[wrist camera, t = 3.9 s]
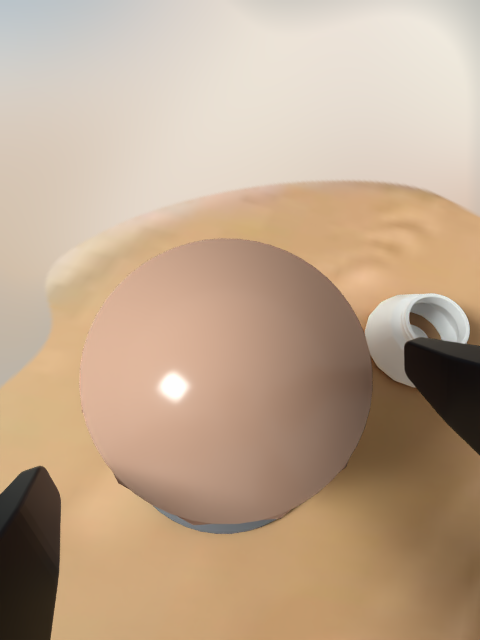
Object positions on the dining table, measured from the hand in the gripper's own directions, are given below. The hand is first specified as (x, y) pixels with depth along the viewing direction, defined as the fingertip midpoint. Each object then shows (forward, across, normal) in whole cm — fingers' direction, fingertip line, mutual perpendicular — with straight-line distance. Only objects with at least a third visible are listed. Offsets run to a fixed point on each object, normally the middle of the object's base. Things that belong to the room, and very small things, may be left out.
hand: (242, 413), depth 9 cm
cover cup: (+7, 0, +6) cm, 9 cm away
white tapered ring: (+8, -11, +6) cm, 15 cm away
